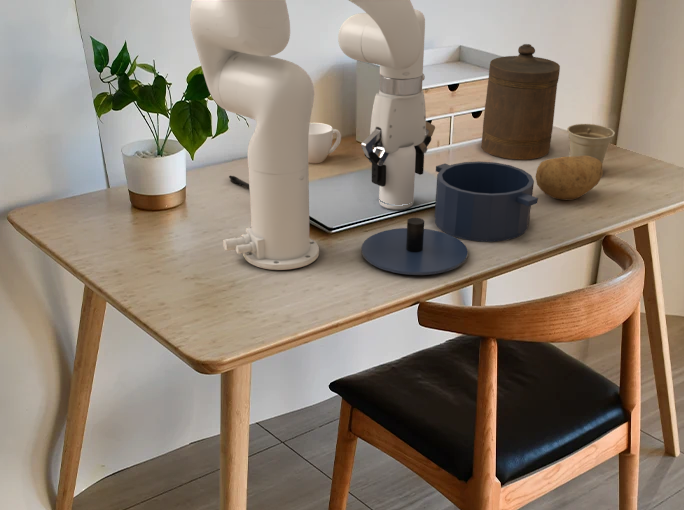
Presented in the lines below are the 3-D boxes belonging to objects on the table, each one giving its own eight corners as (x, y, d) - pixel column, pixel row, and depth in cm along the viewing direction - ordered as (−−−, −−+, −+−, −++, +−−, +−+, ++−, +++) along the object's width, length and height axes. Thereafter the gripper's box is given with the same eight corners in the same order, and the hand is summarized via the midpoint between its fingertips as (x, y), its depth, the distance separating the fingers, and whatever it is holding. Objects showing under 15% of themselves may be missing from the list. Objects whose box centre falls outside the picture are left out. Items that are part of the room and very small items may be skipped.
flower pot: (614, 170, 191) (621, 128, 186) (598, 183, 184) (605, 140, 179) (571, 161, 195) (577, 120, 190) (554, 173, 188) (560, 132, 184)
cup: (290, 156, 195) (289, 125, 191) (332, 150, 199) (332, 119, 195) (305, 168, 189) (304, 135, 185) (348, 161, 193) (349, 129, 189)
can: (395, 195, 177) (397, 133, 170) (420, 204, 173) (423, 142, 167) (371, 204, 173) (373, 141, 167) (396, 213, 169) (399, 150, 163)
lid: (412, 288, 143) (414, 253, 140) (339, 251, 155) (339, 217, 151) (489, 258, 153) (492, 224, 150) (415, 225, 165) (417, 193, 161)
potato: (612, 200, 176) (619, 160, 172) (550, 211, 171) (556, 169, 167) (582, 183, 184) (587, 144, 179) (522, 193, 179) (526, 153, 174)
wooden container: (559, 145, 204) (572, 42, 192) (534, 164, 193) (547, 56, 181) (497, 134, 210) (506, 33, 198) (470, 152, 199) (478, 47, 187)
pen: (225, 180, 182) (224, 175, 182) (232, 178, 183) (232, 173, 182) (265, 201, 173) (264, 196, 172) (272, 199, 174) (272, 194, 173)
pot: (495, 255, 154) (500, 207, 150) (405, 215, 168) (407, 170, 164) (558, 230, 164) (565, 184, 159) (468, 194, 178) (471, 151, 173)
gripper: (421, 72, 168) (417, 162, 178) (349, 88, 159) (348, 183, 168) (450, 80, 164) (445, 173, 173) (378, 98, 154) (376, 195, 163)
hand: (397, 178), depth 170 cm, fingers open, 9 cm apart
